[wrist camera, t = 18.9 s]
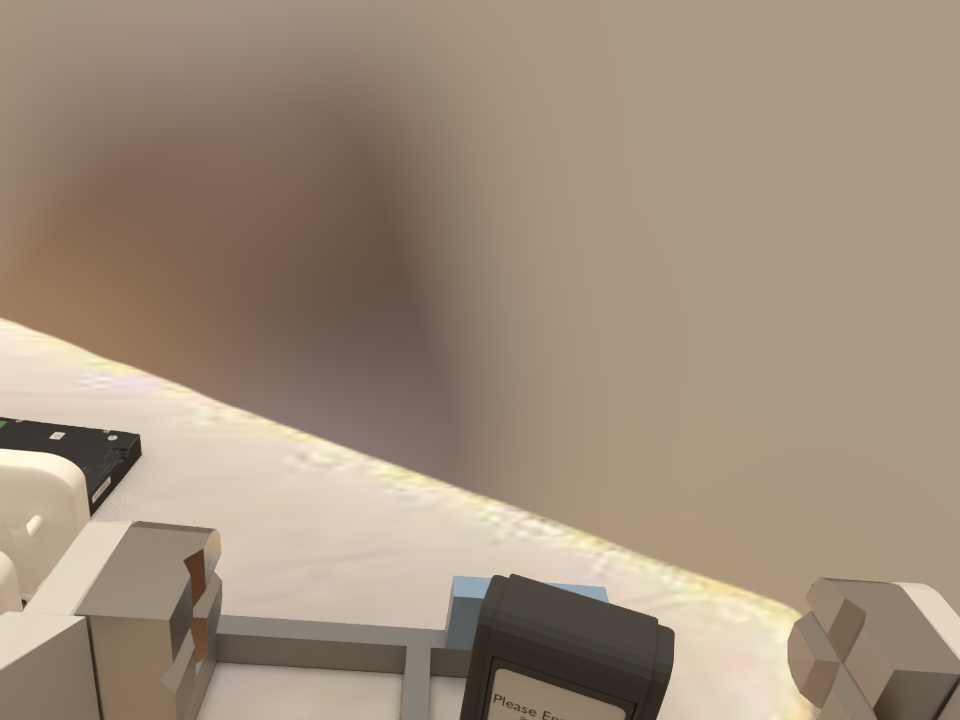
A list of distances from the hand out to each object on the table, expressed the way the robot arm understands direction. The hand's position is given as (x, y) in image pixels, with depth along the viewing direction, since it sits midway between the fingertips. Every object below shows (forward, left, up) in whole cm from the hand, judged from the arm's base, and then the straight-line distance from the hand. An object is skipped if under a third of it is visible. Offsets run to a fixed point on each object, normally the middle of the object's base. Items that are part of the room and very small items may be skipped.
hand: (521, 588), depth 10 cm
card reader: (+7, +17, -32) cm, 37 cm away
